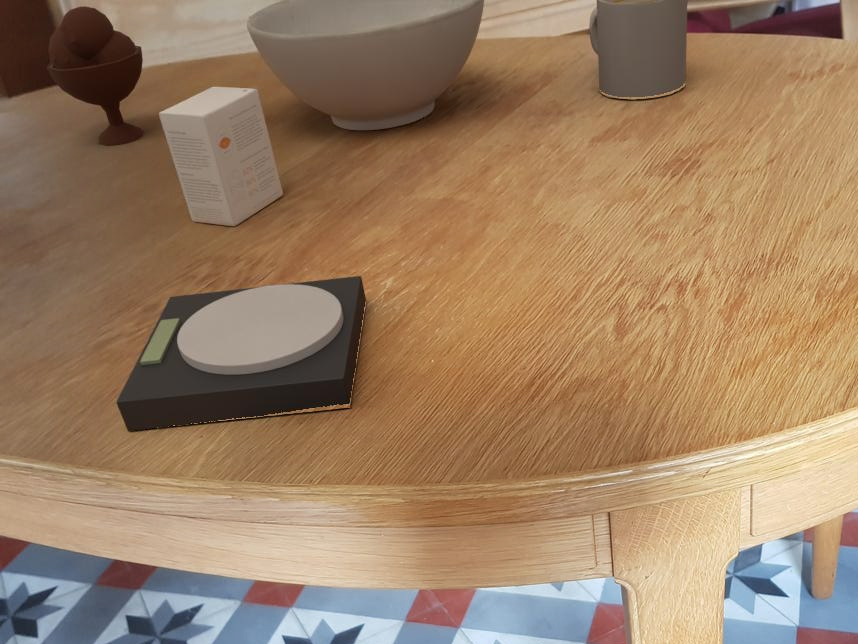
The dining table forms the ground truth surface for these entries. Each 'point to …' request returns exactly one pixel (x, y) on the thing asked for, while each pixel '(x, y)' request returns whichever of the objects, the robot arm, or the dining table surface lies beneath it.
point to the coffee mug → (640, 46)
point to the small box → (222, 154)
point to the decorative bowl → (367, 54)
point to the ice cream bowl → (96, 67)
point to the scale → (247, 354)
